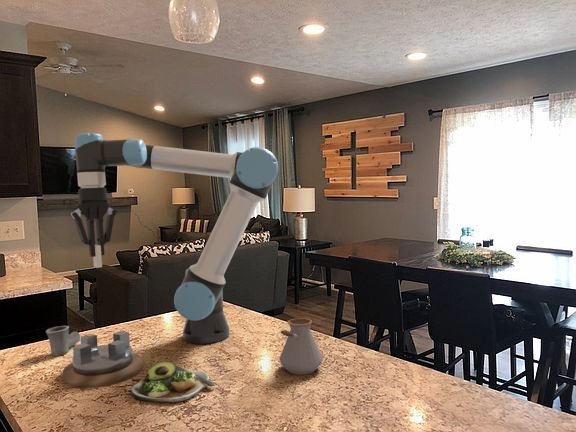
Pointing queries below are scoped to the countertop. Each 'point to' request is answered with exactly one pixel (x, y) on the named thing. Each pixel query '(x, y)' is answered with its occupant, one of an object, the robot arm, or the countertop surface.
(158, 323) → the countertop surface
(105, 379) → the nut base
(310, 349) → the coffee pot
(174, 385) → the salad plate
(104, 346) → the four-tab metal disc
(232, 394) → the countertop surface
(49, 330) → the pipe
